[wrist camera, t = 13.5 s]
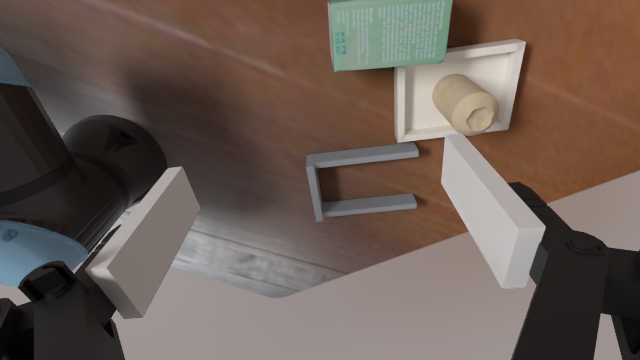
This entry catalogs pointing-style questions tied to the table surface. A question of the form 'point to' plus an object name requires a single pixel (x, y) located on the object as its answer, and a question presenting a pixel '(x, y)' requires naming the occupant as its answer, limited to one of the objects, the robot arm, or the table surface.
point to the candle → (465, 104)
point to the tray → (471, 61)
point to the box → (387, 33)
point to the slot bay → (355, 158)
